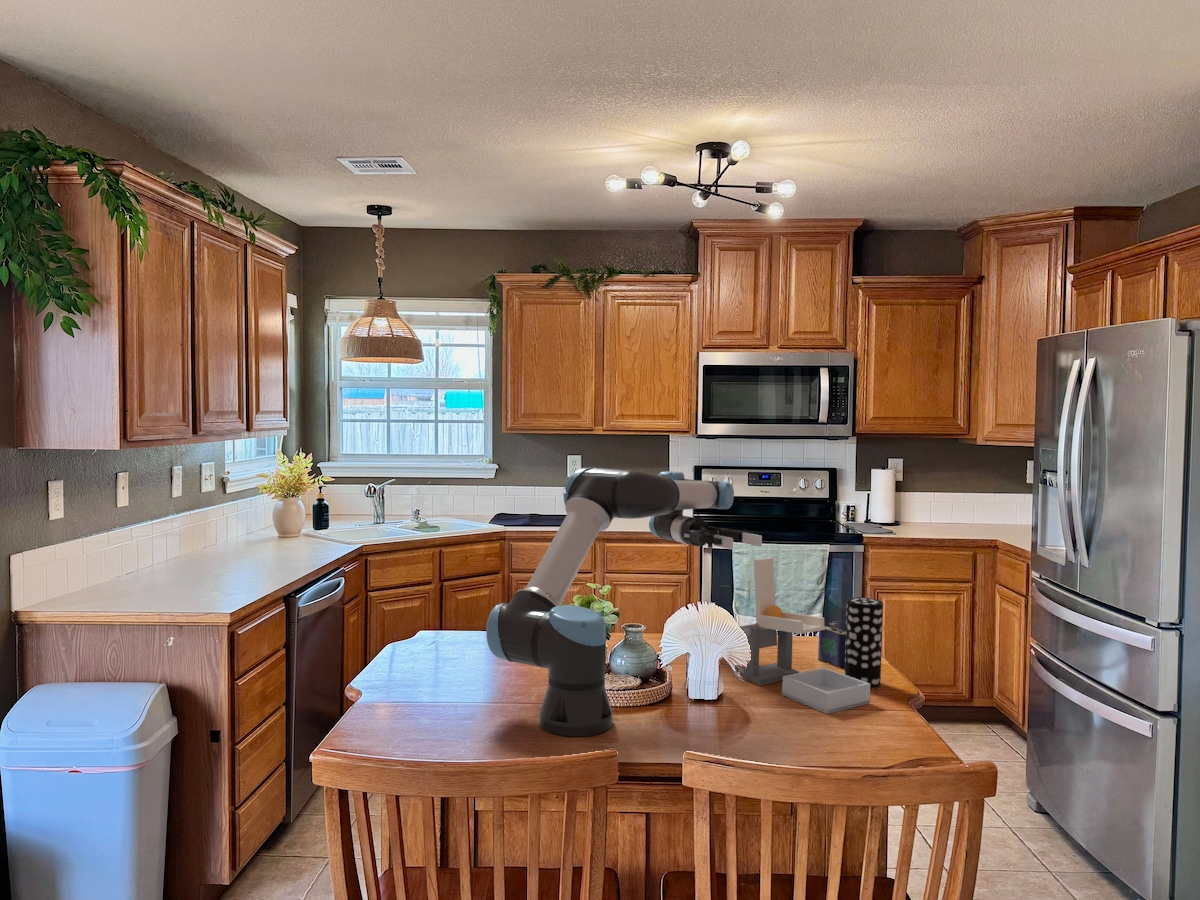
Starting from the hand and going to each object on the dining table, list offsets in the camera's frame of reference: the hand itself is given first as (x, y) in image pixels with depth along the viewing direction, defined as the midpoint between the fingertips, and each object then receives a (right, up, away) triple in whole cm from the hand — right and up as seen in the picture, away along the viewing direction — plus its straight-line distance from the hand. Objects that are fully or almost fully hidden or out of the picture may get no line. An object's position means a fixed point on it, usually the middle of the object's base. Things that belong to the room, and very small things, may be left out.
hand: (746, 542), depth 213 cm
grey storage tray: (+14, -33, -22) cm, 42 cm away
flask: (+23, -32, +6) cm, 41 cm away
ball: (+5, -16, -8) cm, 19 cm away
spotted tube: (+26, -33, -10) cm, 43 cm away
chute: (+7, -25, -10) cm, 28 cm away
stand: (+4, -32, -6) cm, 33 cm away
